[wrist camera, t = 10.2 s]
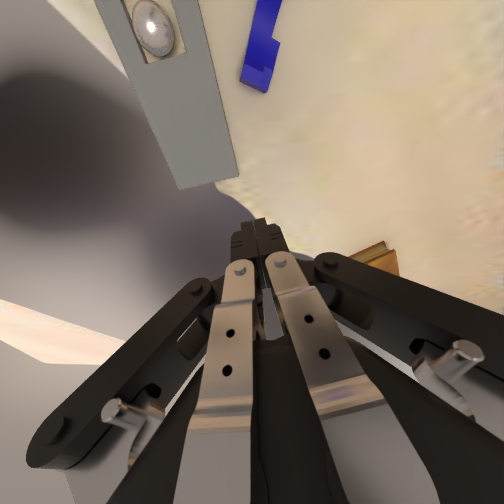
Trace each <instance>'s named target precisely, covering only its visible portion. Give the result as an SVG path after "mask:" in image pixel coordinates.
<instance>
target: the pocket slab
mask: <svg viewBox="0 0 504 504" xmlns="http://www.w3.org/2000/svg"><path fill="white" fill-rule="evenodd" d="M94 2H95V4H96V7H97V9H98V11H99V13H100V15H101V18H102V20H103V22H104V24H105V27H106V29H107V31H108V33H109V35H110V38H111V40H112V42H113V44H114V46H115V49H116V51H117V53H118V55H119V58H120V60H121V62H122V64H123V66H124V69H125V71H126V73H127V75H128V78H129V80H130V82H131V84H132V86H133V88H134V91H135V93H136V95H137V98H138V100H139V102H140V104H141V106H142V108H143V111H144V113H145V115H146V118H147V120H148V122H149V124H150V126H151V129H152V131H153V133H154V135H155V137H156V140H157V142H158V144H159V146H160V149H161V151H162V153H163V155H164V157H165V160H166V162H167V164H168V166H169V168H170V171H171V173H172V175H173V177H174V180H175V182H176V184H177V186H178V188H179V190H183V189H187V188H191V187H195V186H199V185H204V184H208V183H212V182H217V181H221V180H225V179H229V178H234V177H238V176H239V173H238V169H237V165H236V161H235V157H234V152H233V148H232V144H231V140H230V135H229V131H228V127H227V123H226V118H225V114H224V110H223V106H222V101H221V97H220V93H219V89H218V85H217V80H216V76H215V72H214V68H213V63H212V59H211V55H210V51H209V46H208V42H207V38H206V34H205V29H204V25H203V21H202V17H201V13H200V8H199V4H198V0H172V3H173V6H174V10H175V13H176V17H177V20H178V23H179V27H180V30H181V34H182V37H183V41H184V44H185V48H186V51H187V53H185V54H181V55H177V56H174V57H170V58H167V59H163V60H160V61H156V62H152V63H149V64H148V62H147V60H146V57H145V55H144V52H143V49H142V47H141V44H140V42H139V40H138V38H137V36H136V34H135V32H134V28H133V24H132V21H131V19H130V16H129V13H128V11H127V8H126V6H125V3H124V1H123V0H94Z"/></svg>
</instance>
